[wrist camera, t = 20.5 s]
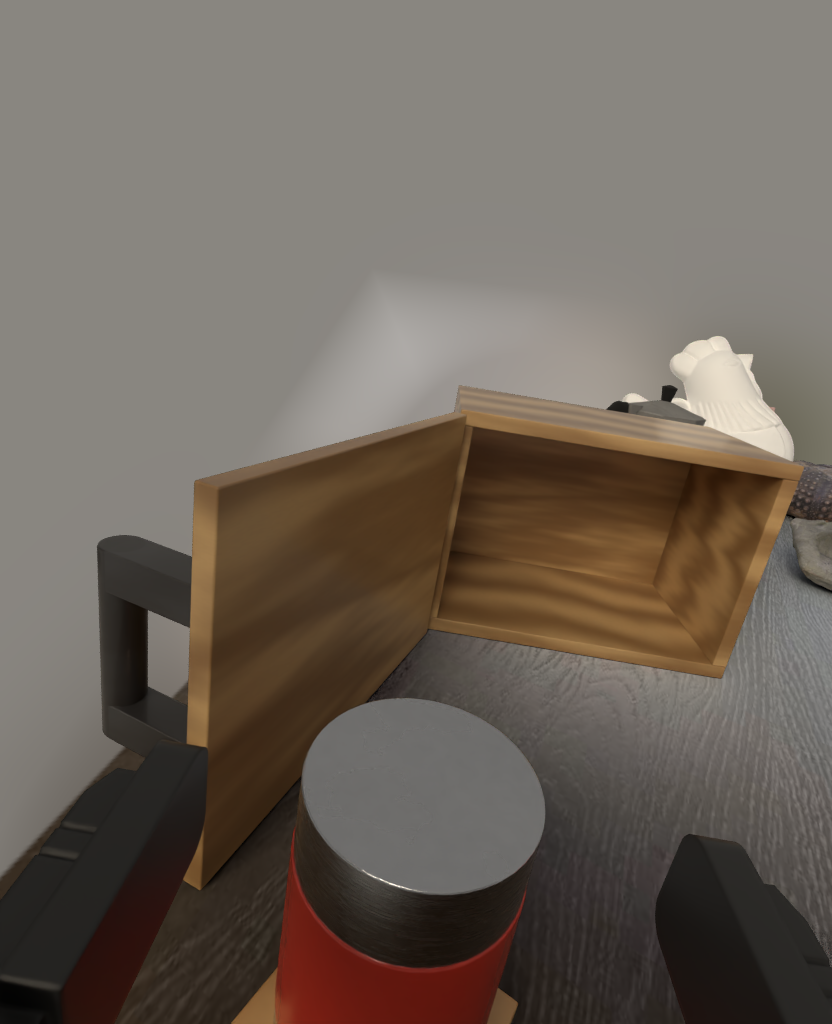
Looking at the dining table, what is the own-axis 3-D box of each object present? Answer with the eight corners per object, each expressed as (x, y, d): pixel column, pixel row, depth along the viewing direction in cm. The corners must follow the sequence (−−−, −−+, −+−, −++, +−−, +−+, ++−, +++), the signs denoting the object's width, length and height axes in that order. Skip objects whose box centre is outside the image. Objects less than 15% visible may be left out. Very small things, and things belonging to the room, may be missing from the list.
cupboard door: (80, 817, 23) (61, 438, 18) (350, 605, 42) (379, 394, 37) (200, 892, 21) (218, 487, 16) (426, 633, 40) (467, 414, 35)
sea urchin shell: (854, 540, 81) (868, 471, 80) (729, 515, 98) (739, 457, 96) (915, 532, 90) (928, 470, 88) (791, 511, 106) (801, 457, 105)
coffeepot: (638, 516, 78) (678, 383, 72) (694, 544, 70) (744, 398, 64) (548, 516, 71) (584, 371, 65) (599, 547, 63) (645, 385, 58)
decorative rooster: (800, 477, 88) (735, 334, 91) (822, 475, 74) (743, 306, 77) (639, 533, 99) (585, 402, 102) (631, 541, 84) (568, 389, 87)
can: (228, 1021, 17) (248, 756, 14) (378, 895, 21) (420, 671, 18) (362, 1254, 13) (433, 965, 10) (510, 1043, 18) (593, 793, 14)
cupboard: (721, 679, 41) (805, 466, 36) (421, 627, 41) (460, 409, 36) (656, 591, 54) (710, 427, 49) (428, 553, 55) (458, 384, 49)
